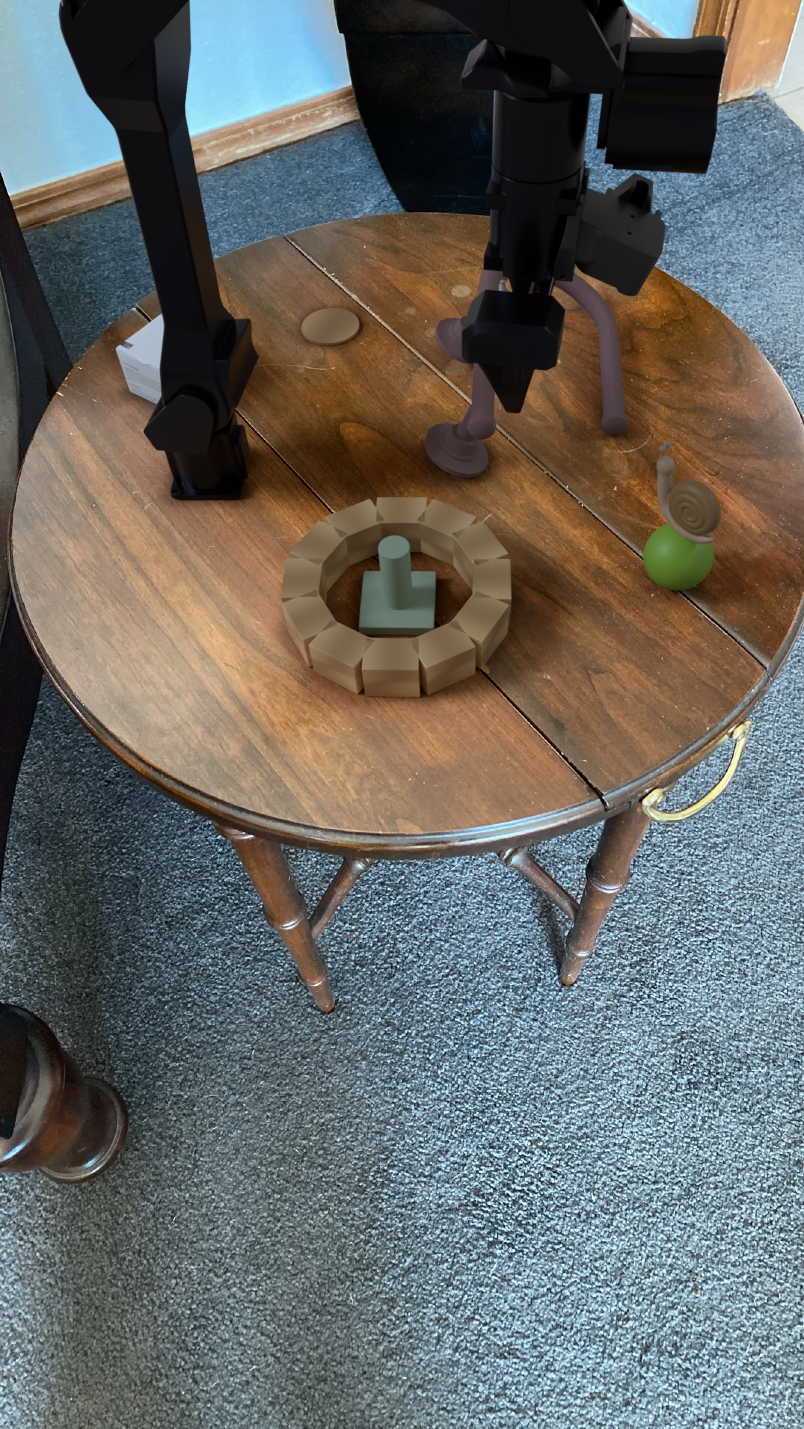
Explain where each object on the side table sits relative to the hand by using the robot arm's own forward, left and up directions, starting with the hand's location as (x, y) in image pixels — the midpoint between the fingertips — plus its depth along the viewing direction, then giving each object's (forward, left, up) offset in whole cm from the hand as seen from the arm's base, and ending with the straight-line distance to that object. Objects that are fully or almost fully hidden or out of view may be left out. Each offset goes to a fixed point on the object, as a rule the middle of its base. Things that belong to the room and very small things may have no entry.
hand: (523, 372), depth 73 cm
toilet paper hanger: (+1, +16, -14) cm, 21 cm away
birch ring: (-10, -11, -14) cm, 20 cm away
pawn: (+13, +18, -14) cm, 27 cm away
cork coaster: (-19, +26, -14) cm, 35 cm away
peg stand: (-10, -11, -14) cm, 20 cm away
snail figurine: (+12, -8, -14) cm, 20 cm away
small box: (-33, +17, -14) cm, 39 cm away
